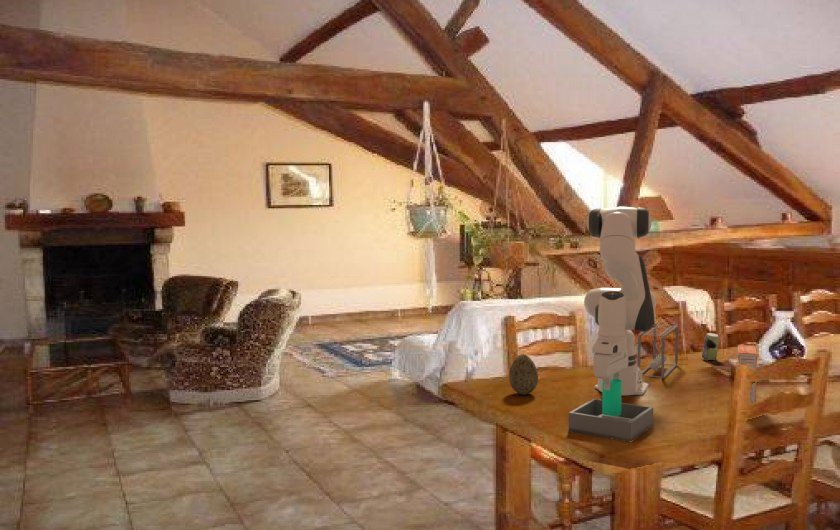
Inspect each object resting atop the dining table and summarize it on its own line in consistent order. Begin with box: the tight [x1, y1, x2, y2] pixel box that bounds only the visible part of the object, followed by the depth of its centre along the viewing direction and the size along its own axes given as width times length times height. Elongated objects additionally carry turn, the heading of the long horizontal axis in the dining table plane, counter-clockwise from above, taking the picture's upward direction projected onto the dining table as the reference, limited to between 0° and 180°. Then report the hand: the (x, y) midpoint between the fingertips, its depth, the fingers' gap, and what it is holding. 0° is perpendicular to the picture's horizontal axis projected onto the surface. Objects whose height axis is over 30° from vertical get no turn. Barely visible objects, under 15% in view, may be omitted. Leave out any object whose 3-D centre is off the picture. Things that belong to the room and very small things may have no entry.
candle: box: [601, 379, 622, 416], centre depth 242 cm, size 6×6×12 cm
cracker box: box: [736, 344, 758, 403], centre depth 263 cm, size 14×6×21 cm, turn 159°
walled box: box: [568, 398, 654, 442], centre depth 243 cm, size 20×20×6 cm
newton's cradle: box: [636, 324, 679, 380], centre depth 321 cm, size 30×10×18 cm, turn 151°
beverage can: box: [701, 332, 720, 361], centre depth 341 cm, size 6×7×12 cm
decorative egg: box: [508, 353, 539, 396], centre depth 286 cm, size 11×11×15 cm
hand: (611, 387), depth 242 cm, fingers closed on candle, 5 cm apart
